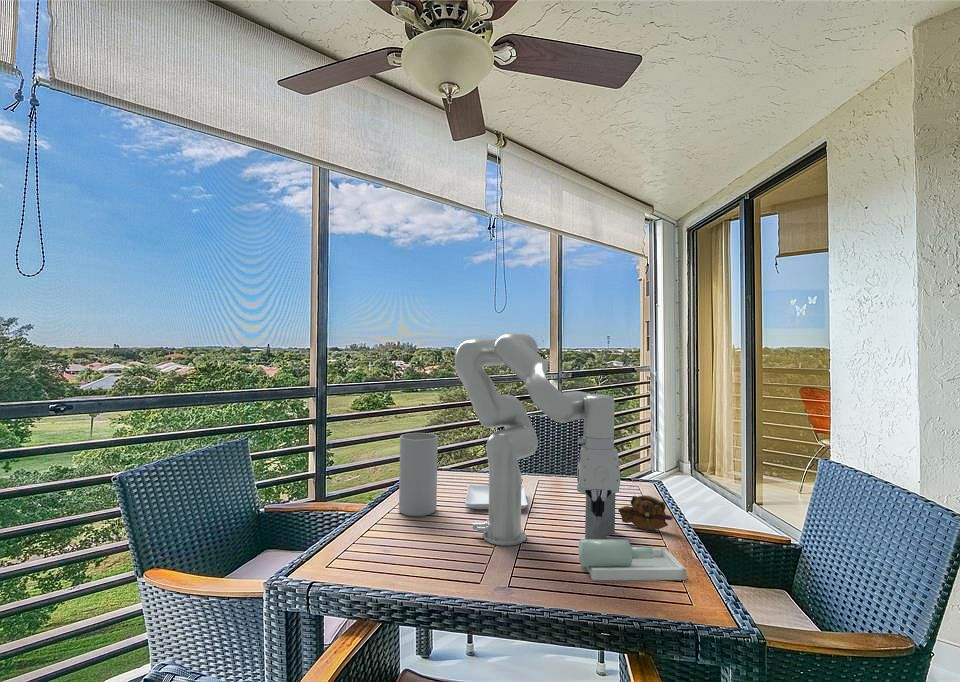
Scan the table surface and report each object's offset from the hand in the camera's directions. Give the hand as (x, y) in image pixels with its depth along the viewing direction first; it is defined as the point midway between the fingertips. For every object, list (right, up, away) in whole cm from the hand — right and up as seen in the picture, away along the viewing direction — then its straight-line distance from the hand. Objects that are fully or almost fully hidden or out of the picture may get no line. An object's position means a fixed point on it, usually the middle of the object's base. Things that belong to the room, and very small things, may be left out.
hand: (597, 514), depth 130 cm
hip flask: (+5, -14, +20) cm, 25 cm away
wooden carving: (+21, -14, +28) cm, 38 cm away
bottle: (-4, -10, 0) cm, 10 cm away
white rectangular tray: (+8, -14, 0) cm, 16 cm away
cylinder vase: (-51, -13, +41) cm, 66 cm away
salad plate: (-24, -14, +51) cm, 58 cm away
